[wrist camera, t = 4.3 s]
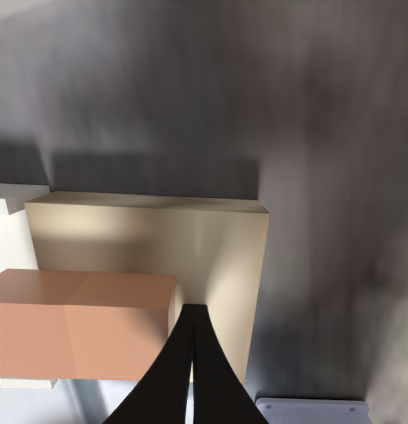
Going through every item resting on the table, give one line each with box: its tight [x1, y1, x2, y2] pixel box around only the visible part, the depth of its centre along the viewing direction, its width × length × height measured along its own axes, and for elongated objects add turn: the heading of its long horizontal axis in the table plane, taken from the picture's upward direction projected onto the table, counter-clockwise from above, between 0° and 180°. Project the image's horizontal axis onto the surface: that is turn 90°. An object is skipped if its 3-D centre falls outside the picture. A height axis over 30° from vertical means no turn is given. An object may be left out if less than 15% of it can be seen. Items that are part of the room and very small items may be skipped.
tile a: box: [64, 271, 175, 381], centre depth 11 cm, size 4×4×2 cm
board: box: [24, 191, 270, 384], centre depth 14 cm, size 12×12×2 cm
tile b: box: [0, 268, 91, 379], centre depth 11 cm, size 4×4×2 cm
